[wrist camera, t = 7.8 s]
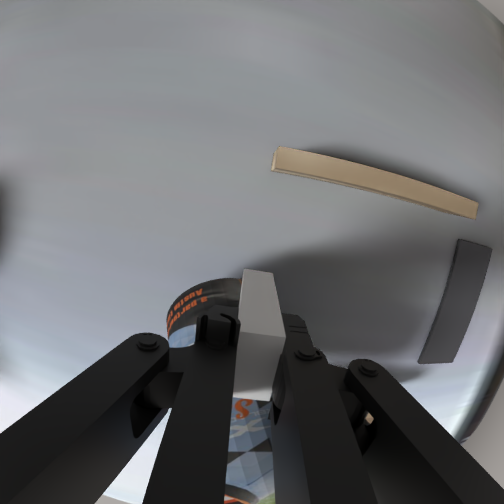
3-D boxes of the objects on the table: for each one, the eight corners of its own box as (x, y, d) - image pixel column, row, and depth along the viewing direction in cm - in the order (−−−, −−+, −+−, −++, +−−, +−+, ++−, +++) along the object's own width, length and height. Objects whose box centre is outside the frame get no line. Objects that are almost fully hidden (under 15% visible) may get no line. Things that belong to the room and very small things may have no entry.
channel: (273, 154, 16) (279, 146, 12) (446, 198, 16) (478, 203, 13) (235, 379, 19) (232, 412, 16) (386, 387, 20) (402, 415, 16)
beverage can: (198, 244, 15) (209, 513, 4) (308, 295, 17) (387, 486, 7) (152, 323, 17) (139, 522, 7) (251, 356, 20) (285, 522, 10)
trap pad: (458, 239, 17) (460, 239, 17) (490, 248, 17) (492, 249, 17) (417, 362, 19) (418, 364, 19) (450, 360, 19) (452, 362, 19)
